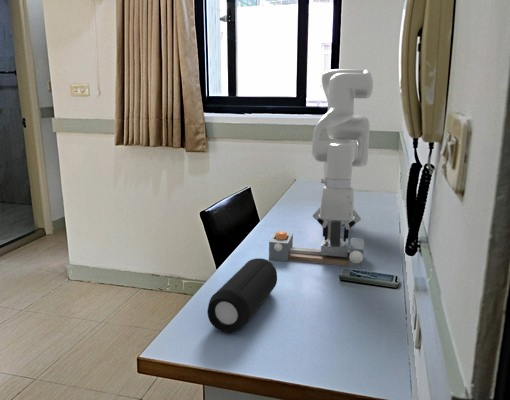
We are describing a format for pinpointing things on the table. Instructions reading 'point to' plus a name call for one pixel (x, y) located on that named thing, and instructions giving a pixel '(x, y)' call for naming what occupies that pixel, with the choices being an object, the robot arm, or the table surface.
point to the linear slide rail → (282, 247)
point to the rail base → (316, 256)
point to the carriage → (335, 242)
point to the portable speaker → (242, 295)
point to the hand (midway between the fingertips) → (335, 239)
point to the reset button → (281, 235)
